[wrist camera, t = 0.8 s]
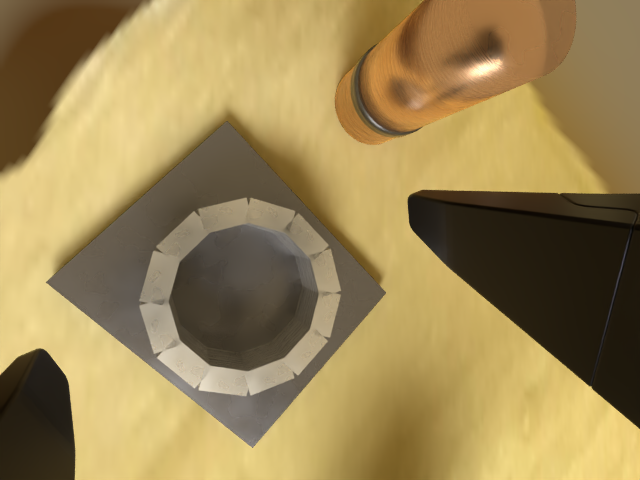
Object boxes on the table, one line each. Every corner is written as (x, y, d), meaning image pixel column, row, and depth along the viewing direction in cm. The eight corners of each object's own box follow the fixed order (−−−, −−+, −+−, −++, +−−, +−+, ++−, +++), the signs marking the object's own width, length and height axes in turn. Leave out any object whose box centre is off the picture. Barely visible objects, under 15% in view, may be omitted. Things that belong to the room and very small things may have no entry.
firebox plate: (378, 290, 26) (412, 301, 22) (249, 438, 23) (262, 480, 19) (225, 125, 22) (233, 104, 18) (52, 279, 20) (21, 292, 16)
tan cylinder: (419, 111, 26) (598, 24, 15) (370, 162, 25) (522, 110, 14) (371, 47, 25) (527, -101, 14) (317, 99, 24) (437, -17, 13)
